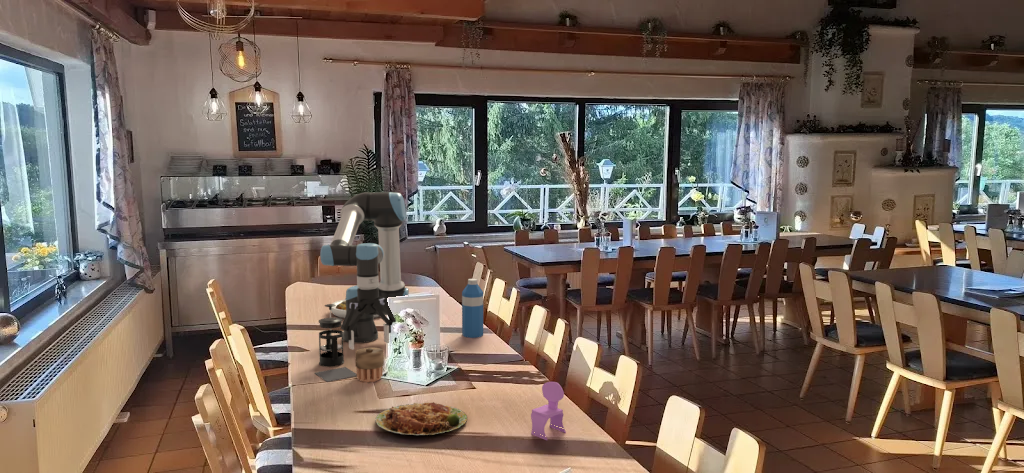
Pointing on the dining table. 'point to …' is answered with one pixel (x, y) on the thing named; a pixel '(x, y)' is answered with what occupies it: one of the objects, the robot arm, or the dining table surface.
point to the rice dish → (421, 419)
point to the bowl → (341, 309)
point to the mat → (336, 374)
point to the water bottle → (472, 310)
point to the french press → (331, 341)
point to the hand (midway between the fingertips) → (369, 345)
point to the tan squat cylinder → (369, 358)
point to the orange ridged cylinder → (369, 374)
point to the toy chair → (548, 410)
